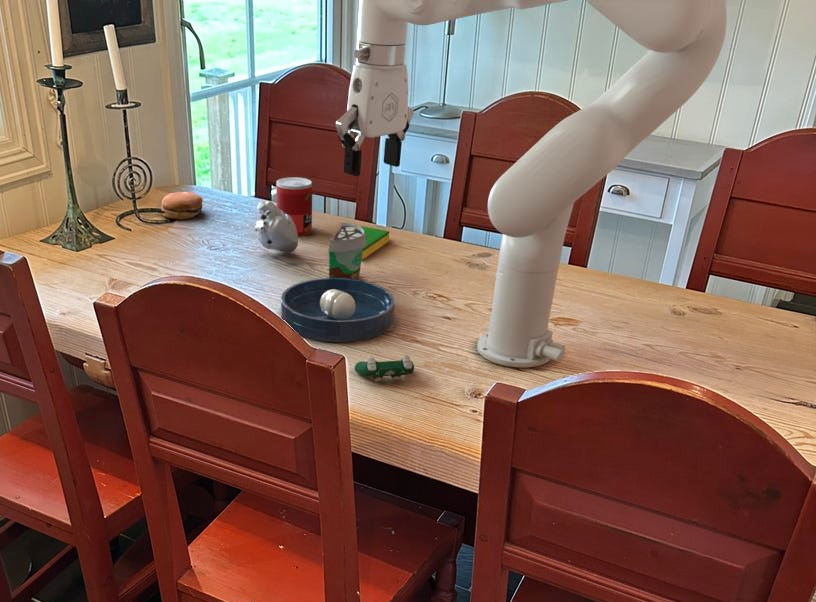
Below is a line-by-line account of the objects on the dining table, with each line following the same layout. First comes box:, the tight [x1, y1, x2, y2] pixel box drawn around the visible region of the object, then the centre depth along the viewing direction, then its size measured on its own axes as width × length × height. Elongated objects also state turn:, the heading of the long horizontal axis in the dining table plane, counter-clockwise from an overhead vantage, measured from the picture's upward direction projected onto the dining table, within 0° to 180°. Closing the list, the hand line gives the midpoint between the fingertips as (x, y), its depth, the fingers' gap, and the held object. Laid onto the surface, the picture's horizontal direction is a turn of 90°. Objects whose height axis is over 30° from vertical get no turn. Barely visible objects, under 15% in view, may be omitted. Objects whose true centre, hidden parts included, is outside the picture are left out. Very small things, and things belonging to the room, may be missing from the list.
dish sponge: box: [360, 225, 390, 260], centre depth 184 cm, size 7×14×2 cm, turn 153°
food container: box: [328, 221, 367, 280], centre depth 165 cm, size 12×6×10 cm, turn 168°
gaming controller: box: [354, 355, 415, 382], centre depth 133 cm, size 9×4×6 cm
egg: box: [320, 289, 356, 321], centre depth 151 cm, size 7×5×5 cm
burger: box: [160, 190, 204, 221], centre depth 200 cm, size 10×9×5 cm
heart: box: [254, 200, 299, 254], centre depth 176 cm, size 10×10×12 cm
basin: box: [280, 277, 396, 343], centre depth 151 cm, size 20×20×4 cm
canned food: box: [275, 176, 313, 237], centre depth 190 cm, size 8×8×11 cm
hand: (372, 169), depth 140 cm, fingers open, 9 cm apart
